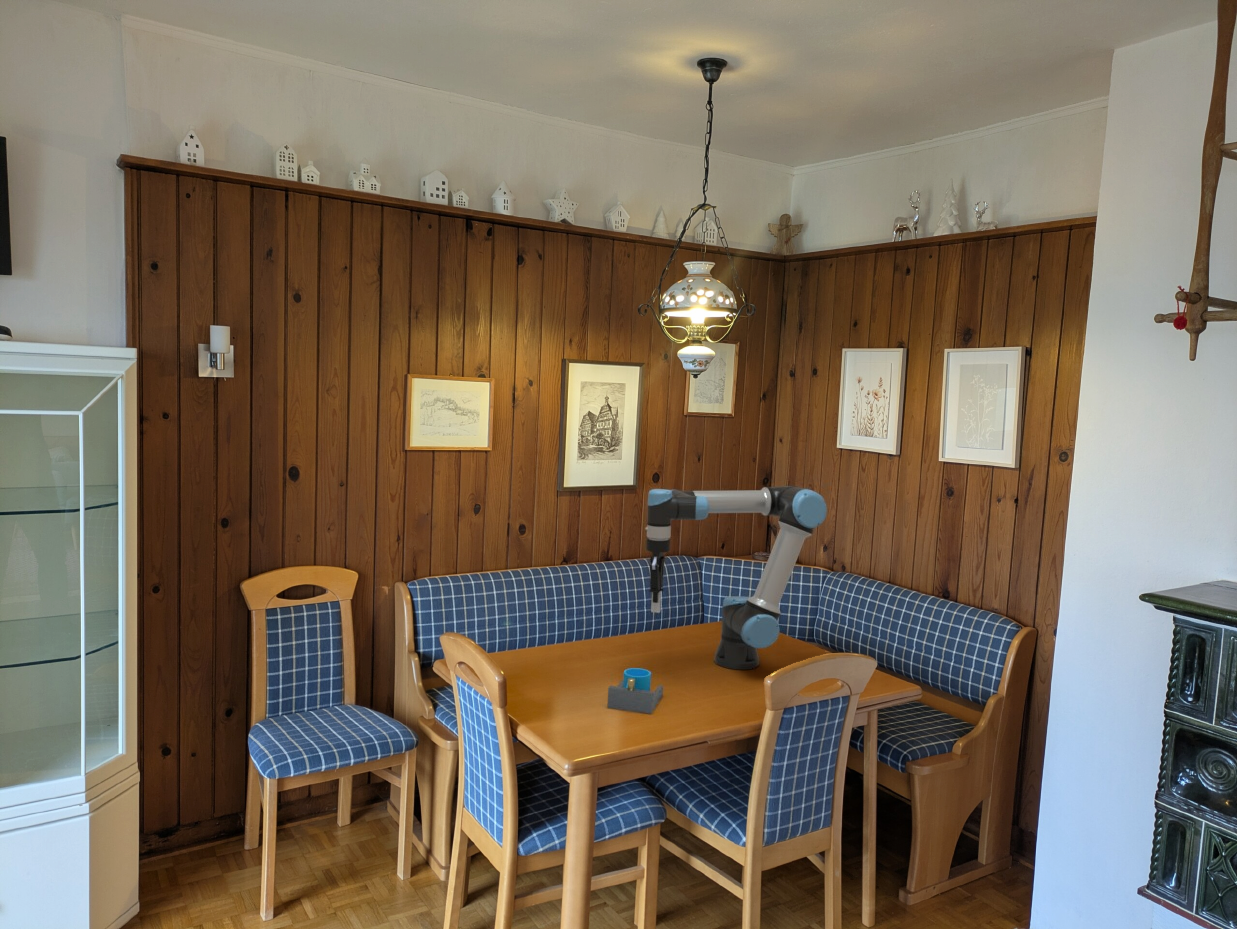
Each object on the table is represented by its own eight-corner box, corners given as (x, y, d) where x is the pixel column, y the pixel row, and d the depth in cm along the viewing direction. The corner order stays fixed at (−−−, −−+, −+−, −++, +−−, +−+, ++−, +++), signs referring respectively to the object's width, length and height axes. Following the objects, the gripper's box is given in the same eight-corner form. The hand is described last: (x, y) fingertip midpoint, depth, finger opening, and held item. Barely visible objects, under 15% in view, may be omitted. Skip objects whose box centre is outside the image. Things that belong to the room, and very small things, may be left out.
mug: (628, 692, 267) (630, 666, 266) (653, 697, 264) (655, 671, 263) (612, 704, 256) (614, 677, 255) (638, 710, 253) (639, 682, 252)
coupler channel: (662, 695, 266) (664, 666, 265) (651, 714, 250) (652, 683, 249) (621, 689, 269) (622, 661, 268) (607, 707, 253) (608, 677, 252)
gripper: (651, 534, 283) (648, 605, 285) (642, 541, 270) (639, 615, 272) (673, 536, 281) (671, 608, 283) (666, 542, 269) (663, 618, 271)
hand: (655, 611), depth 278 cm, fingers closed
